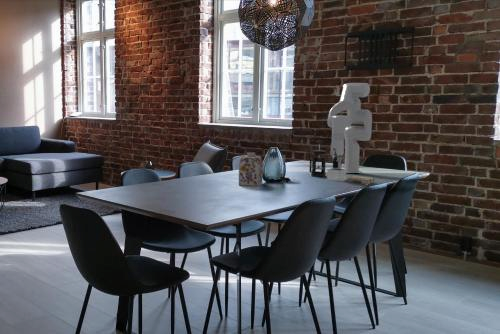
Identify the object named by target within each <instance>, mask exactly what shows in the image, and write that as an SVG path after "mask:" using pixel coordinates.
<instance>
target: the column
mask: <svg viewBox="0 0 500 334" xmlns="http://www.w3.org/2000/svg"><path fill="white" fill-rule="evenodd" d="M335 156H337V155H335ZM341 156H342V155H340V156H338V168H333V167H332V168H333V170H341V169H342V164H341V161H342V160H341ZM342 157H343V156H342ZM336 158H337V157H336Z"/></svg>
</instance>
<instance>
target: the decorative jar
mask: <svg viewBox="0 0 500 334" xmlns="http://www.w3.org/2000/svg"><path fill="white" fill-rule="evenodd" d="M263 161H264V160H263V158H262V156H260V155H256V152H246V155H241V156H240V157H239V161H238V186H244V187H245V186H246V187H260V186H261V185H262V184H263V170H264V169H263Z"/></svg>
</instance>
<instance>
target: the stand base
mask: <svg viewBox="0 0 500 334" xmlns="http://www.w3.org/2000/svg"><path fill="white" fill-rule="evenodd" d="M346 170H347V169H344V168H341V170H333V167H332V168H328V169H327V171H326V178H324V179H323V181H333V182H346V181H347V174H346Z"/></svg>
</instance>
